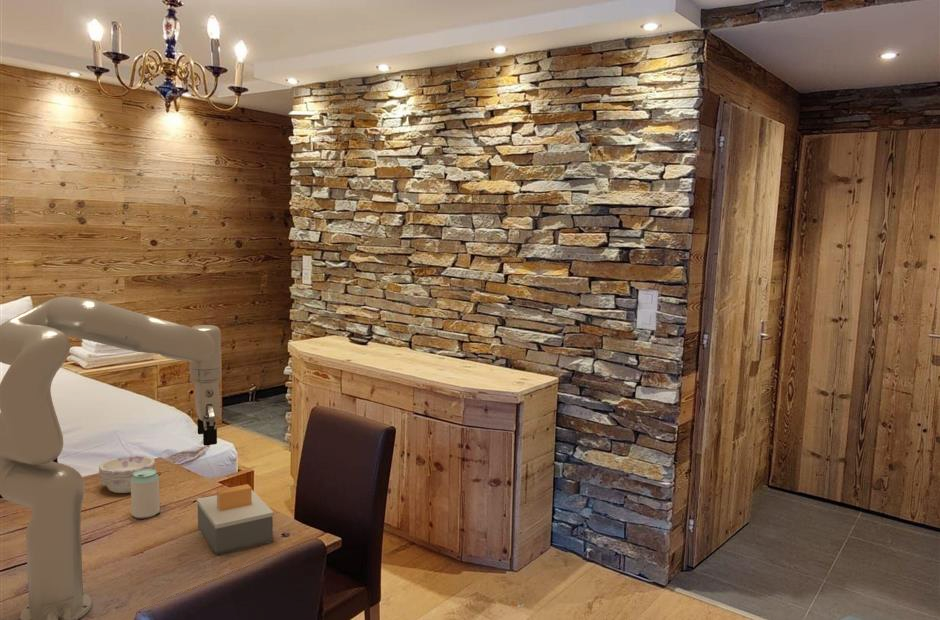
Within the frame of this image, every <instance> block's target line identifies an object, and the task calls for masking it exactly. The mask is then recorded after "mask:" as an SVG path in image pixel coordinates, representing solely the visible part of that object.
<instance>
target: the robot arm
mask: <svg viewBox="0 0 940 620" xmlns="http://www.w3.org/2000/svg"><path fill="white" fill-rule="evenodd" d="M221 334H222V332H221V329H220V327H218V326H217V325H213V324H200V325H199V324H198V325H194V326H192V327H190V326H187V325H184V324H180V323H176V322H172V321H169V320H168V321H167V320H165V319H162V318H161V319H160V318H157V317H155V316H151V315H147V314H144V313H140V312H136V311H133V310H129V309H126V308H122V307H119V306H117V305H113V304H110V303H106V302H103V301H100V300H97V299H96V300H95V299H91V298H85V297H84V298H83V297H77V296H76V297H75V296H74V297H73V296H58V297H55V298H51V299H48V300H47V301H45V302H43V303H40V304H38V305H36V306H35V307H32V308H30V309H29V310H26V311H25V312H22V313H20V314H18V315H16V316H14V317H13V318H11V319H8V320H7V321H5V322H3V323H1V324H0V363H1V364H5V365H9V366H8V369H7V371H6V372H5V374H4V375H3V377H2V379H1V381H0V496H1V497H2V498H3V499H4V500H6V501H8V502H10V503H12V504H16V505H19V506H22V507H25V508H28V509H31V516H30V520H29V522H28V524H27V526H26V527H27V528H26V531H25V547H26V548H25V549H26V569H27V586H28V588H27V589H28V592H27V593H28V604H27V606H25V607H24V609H23V610H22V611H21V612H20V615H19V616H20V620H79V619H82V617H84V616H85V615H86V614H87V613H88V612H89V611H91V608H92V606H93V605H92V604H93V603H92V602H93V601H92V596H90V595H89V594H88V593H85V592H84V584H83V561H82V560H83V556H82V555H83V554H82V531H81V530H82V529H81V526H82V525H81V517H82V516H81V515H82V507H83V506H82V505H83V501H84V495H85V489H86V487H85V481H84V478H83V476H82V475H81V473H80V472H79V471H78V470H77V469H76V468H74V467H71V466H69V465H67V464H63V463H60V462H55V460H56V459H57V458H58V457H60V455H61V453H62V450H63V447H64V436H63V432H62V429H61V426H60V422H59V420H58V415H57V412H56V409H55V405H54V403H53V397H52V393H51V392H52V391H51V390H52V389H51V388H52V382H53V381H54V378H55V376H56V374H57V373H58V371H59V370H60V368H61V367H62V366H63V365H64V363H65V362H66V360H67V358H68V357H69V355H70V350H71V345H70V344H71V343H70V340H69V338H74V339H76V338H77V339H79V340H80V339H81V340H85V341H89V342H93V343H97V344H101V345H106V346H111V347H115V348H119V349H123V350H126V351H131V352H132V351H133V352H138V353H143V354H144V353H145V354H155V355H156V354H157V355H160V356H162V357H164V358H166V359H171V360H177V361H185V362H186V361H187V362H189V381H190V382H192V383H194V400H195V401H194V402H195V412H196V415H197V422H196V423H197V434H198V435H202V438H203V439H202V440H203V441H202V444H203V446H206V447H207V446H213V445H217V444H218V429H217V421H216V419H217V420H220V419H221V417H222V415H221V400H220V399H221V396H220V386H219V381H221V380H222V378H223V377H222V338H221V337H222V335H221Z"/></svg>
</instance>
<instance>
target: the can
mask: <svg viewBox="0 0 940 620" xmlns="http://www.w3.org/2000/svg"><path fill="white" fill-rule="evenodd" d="M130 499H131V500H130V505H131V507H130V509H131V515H132V517H134V518H136V519H141V520H142V519H149V518H153V517H154V516H156V515H157V514H158V513H159V512H160V511H161V510H160V509H161V508H160V507H161V506H160V501H161V500H160V476H159V475H158V474H157V470H156V469H155V470H152V469H145V470H139V471H137V472H135V473H134V474H133V477H132V479H131V492H130Z"/></svg>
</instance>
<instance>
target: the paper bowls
mask: <svg viewBox="0 0 940 620" xmlns="http://www.w3.org/2000/svg"><path fill="white" fill-rule="evenodd" d="M145 469H152V470H155V471H156V461H155V459H154V458H153V457H150V456H145V455H126V456H120V457H115V458H111V459H108V460H106V461H103V462H102V463H101V464H99V467H98V481H99V483H100V485H102V486H105V487H107V489H108V491H110V492H113V493H116V494H129V493H130V494H131V479H132V477H133V474H134V473H135V472H137V471H139V470H145Z"/></svg>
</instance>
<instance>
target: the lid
mask: <svg viewBox="0 0 940 620" xmlns="http://www.w3.org/2000/svg"><path fill="white" fill-rule="evenodd" d="M196 504H197V506H198V505H199V507H200V508H201V509H202V511H203V512H204V514H205V515H206V516H207V518H208V519H209V520H210V522H211V523H212V525H213V526H214V527H215V529H217V528H221V527H226V526H231V525H235V524H240V523H244V522H249V521H253V520H258V519H262V518H267V517H272V516H273V517H274V515H275V514H274V511H273V510H272V509H271V508H270V507H269V506H268V505H267V503H266V502H264V501H263V500H262V499H261V497H260V496H259V495H258V494H257V493H256V492H255V491H254V490H253V489H252V487H251V486H250V484H248V483H247V484H242V485H237V486H230V487H226V488H220V489H216V494H215V495H211V496H204V497H199V498H196Z"/></svg>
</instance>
